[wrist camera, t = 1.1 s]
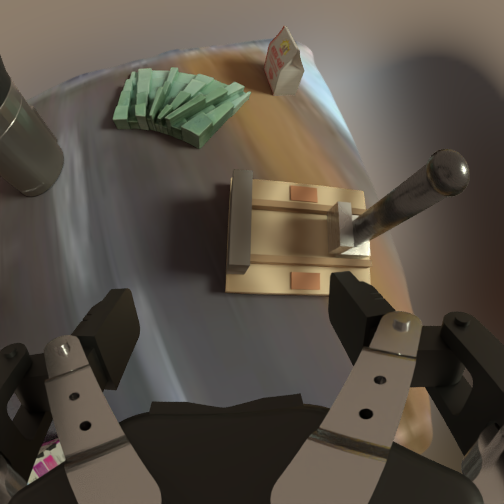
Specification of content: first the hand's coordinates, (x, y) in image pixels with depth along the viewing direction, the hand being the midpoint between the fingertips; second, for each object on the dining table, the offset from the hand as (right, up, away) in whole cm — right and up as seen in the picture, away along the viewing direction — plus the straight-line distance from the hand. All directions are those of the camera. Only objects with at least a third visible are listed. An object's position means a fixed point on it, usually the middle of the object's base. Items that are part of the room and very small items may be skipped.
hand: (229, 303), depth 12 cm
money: (-9, +24, +30) cm, 39 cm away
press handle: (+12, +4, +25) cm, 28 cm away
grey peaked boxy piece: (+5, +30, +33) cm, 45 cm away
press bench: (+7, +3, +27) cm, 28 cm away
